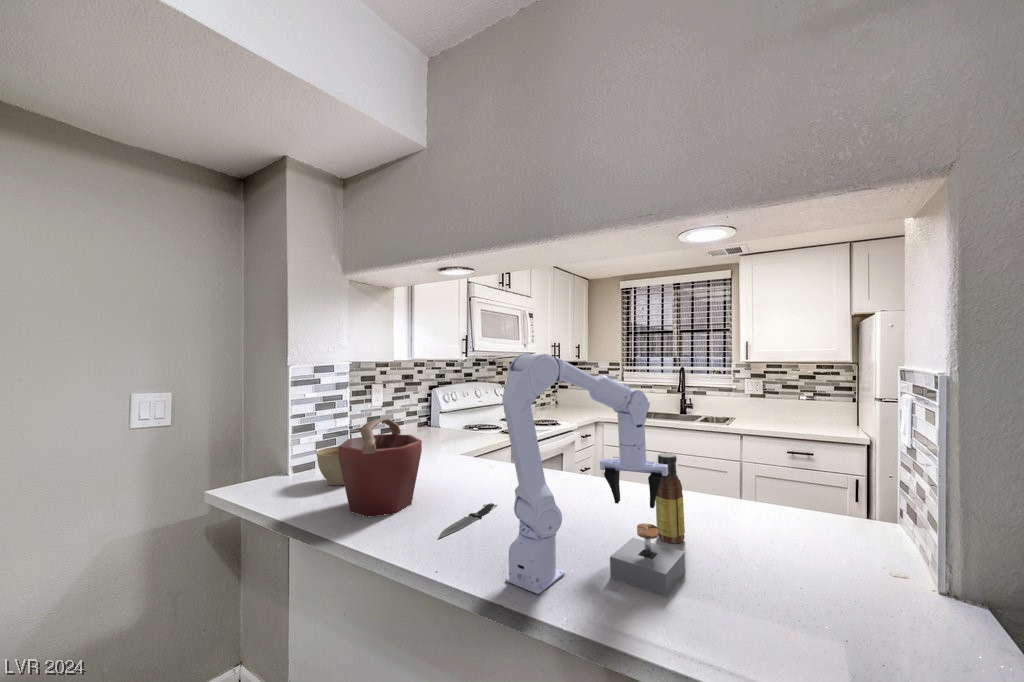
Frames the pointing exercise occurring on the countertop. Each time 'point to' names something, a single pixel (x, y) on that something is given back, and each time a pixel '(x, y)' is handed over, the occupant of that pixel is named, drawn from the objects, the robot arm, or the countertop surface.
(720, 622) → the countertop surface
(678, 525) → the sauce bottle
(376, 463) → the bucket
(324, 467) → the planter bowl
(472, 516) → the knife
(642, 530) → the plunger
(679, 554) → the block
